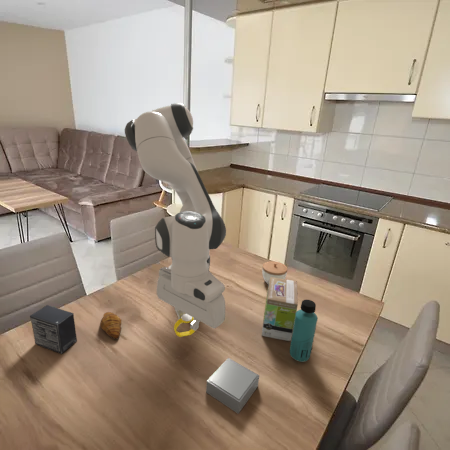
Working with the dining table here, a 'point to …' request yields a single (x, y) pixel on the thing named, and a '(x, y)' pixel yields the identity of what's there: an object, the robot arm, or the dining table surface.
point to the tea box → (280, 309)
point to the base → (232, 384)
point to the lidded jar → (273, 270)
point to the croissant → (111, 325)
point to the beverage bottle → (303, 331)
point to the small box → (54, 328)
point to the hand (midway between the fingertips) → (188, 324)
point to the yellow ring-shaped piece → (185, 319)
